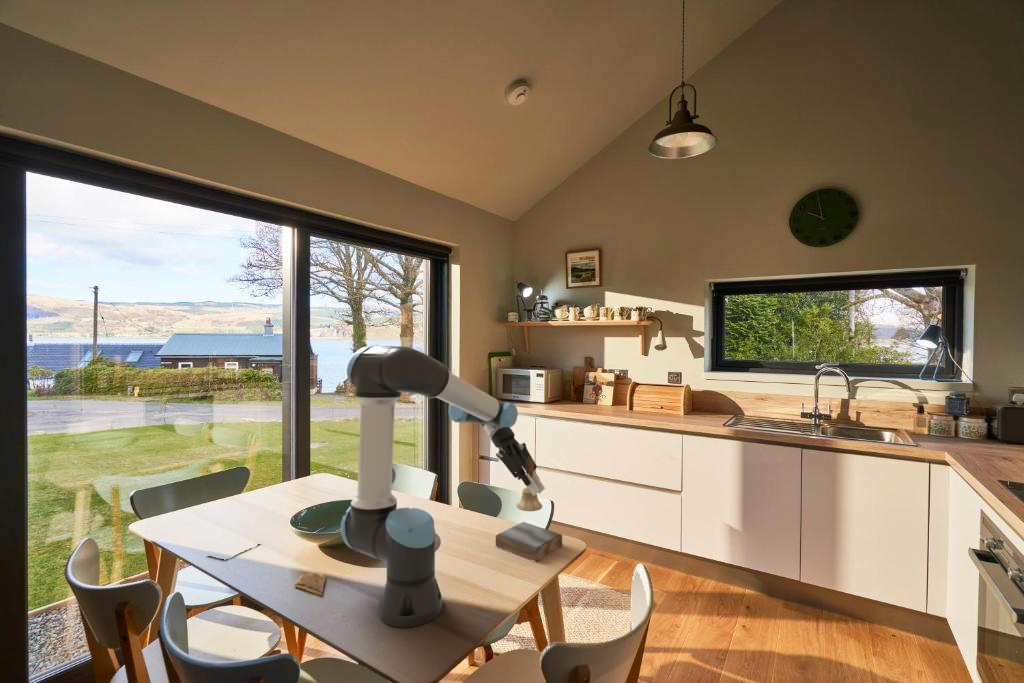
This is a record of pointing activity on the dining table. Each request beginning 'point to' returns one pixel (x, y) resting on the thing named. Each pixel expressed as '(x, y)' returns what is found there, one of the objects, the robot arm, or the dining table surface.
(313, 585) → the shard
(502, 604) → the dining table surface
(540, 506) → the hand bell
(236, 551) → the dining table surface
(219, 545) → the dining table surface
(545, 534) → the walnut stand
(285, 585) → the dining table surface
